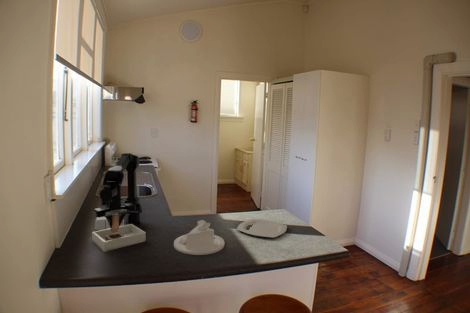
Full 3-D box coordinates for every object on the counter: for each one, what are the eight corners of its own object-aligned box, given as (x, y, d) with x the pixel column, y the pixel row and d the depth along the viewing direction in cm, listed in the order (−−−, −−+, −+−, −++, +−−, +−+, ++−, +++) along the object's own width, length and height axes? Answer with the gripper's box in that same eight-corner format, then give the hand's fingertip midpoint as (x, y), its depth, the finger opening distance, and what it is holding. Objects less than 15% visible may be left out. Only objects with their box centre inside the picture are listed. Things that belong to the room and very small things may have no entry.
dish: (197, 231, 165) (197, 211, 164) (234, 243, 151) (235, 221, 150) (163, 245, 145) (163, 223, 144) (201, 260, 131) (202, 235, 130)
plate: (230, 232, 165) (230, 229, 165) (250, 219, 189) (250, 216, 189) (276, 243, 153) (276, 239, 153) (292, 228, 177) (292, 224, 177)
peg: (117, 228, 148) (117, 213, 148) (120, 231, 146) (120, 215, 145) (109, 230, 146) (109, 214, 145) (112, 232, 143) (112, 216, 142)
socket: (119, 236, 151) (119, 232, 151) (125, 240, 146) (125, 236, 146) (105, 239, 146) (105, 235, 146) (110, 244, 141) (110, 240, 141)
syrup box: (95, 230, 160) (124, 228, 165) (95, 220, 159) (124, 218, 164) (96, 227, 165) (124, 225, 170) (96, 216, 165) (124, 215, 170)
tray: (131, 231, 160) (131, 223, 160) (145, 241, 149) (145, 232, 148) (92, 240, 147) (92, 232, 146) (104, 251, 135) (104, 242, 135)
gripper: (126, 189, 156) (126, 218, 158) (88, 194, 143) (89, 226, 145) (136, 194, 148) (136, 224, 150) (96, 199, 135) (97, 233, 137)
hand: (115, 226), depth 146 cm, fingers closed on peg, 4 cm apart
